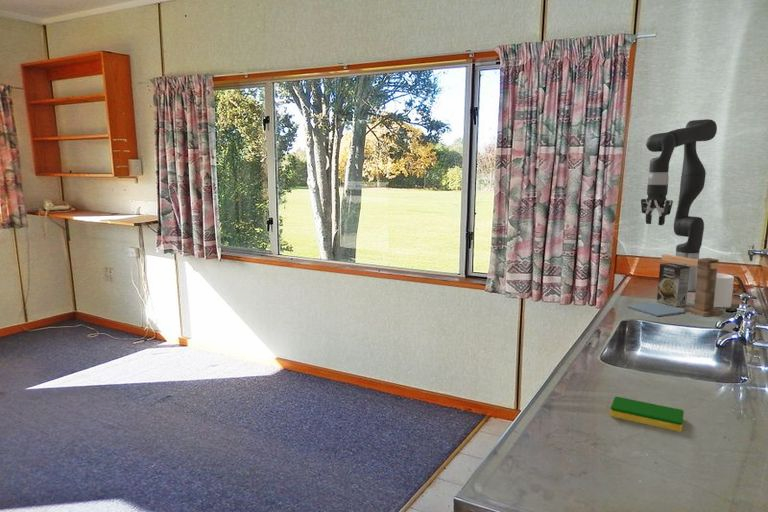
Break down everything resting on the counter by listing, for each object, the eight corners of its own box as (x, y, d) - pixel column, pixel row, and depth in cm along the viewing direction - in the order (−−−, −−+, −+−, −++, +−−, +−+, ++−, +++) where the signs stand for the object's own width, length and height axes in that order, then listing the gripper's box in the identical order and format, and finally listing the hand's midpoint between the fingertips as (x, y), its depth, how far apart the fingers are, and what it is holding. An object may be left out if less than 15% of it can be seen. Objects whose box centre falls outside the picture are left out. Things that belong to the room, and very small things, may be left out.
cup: (721, 301, 214) (724, 272, 212) (737, 308, 203) (740, 278, 201) (691, 300, 215) (694, 272, 213) (705, 307, 204) (708, 278, 202)
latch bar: (666, 259, 212) (667, 254, 212) (717, 268, 192) (718, 263, 192) (661, 259, 211) (661, 254, 211) (712, 268, 191) (712, 263, 191)
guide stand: (702, 308, 203) (707, 256, 199) (722, 313, 195) (727, 260, 192) (684, 311, 199) (689, 258, 196) (703, 316, 192) (708, 261, 188)
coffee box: (655, 302, 213) (659, 263, 210) (666, 300, 216) (669, 262, 213) (676, 307, 205) (679, 267, 202) (687, 305, 207) (690, 266, 205)
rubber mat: (654, 304, 209) (654, 302, 209) (685, 312, 197) (685, 311, 196) (627, 307, 205) (627, 306, 204) (657, 316, 192) (657, 315, 192)
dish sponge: (614, 405, 121) (615, 395, 120) (682, 420, 113) (683, 409, 113) (609, 417, 115) (610, 407, 114) (681, 433, 107) (682, 423, 107)
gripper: (679, 183, 207) (676, 225, 210) (650, 183, 220) (647, 222, 223) (666, 184, 205) (662, 226, 207) (636, 183, 218) (633, 223, 221)
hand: (654, 224), depth 215 cm, fingers open, 5 cm apart
